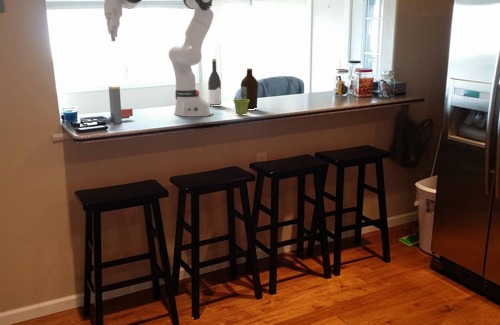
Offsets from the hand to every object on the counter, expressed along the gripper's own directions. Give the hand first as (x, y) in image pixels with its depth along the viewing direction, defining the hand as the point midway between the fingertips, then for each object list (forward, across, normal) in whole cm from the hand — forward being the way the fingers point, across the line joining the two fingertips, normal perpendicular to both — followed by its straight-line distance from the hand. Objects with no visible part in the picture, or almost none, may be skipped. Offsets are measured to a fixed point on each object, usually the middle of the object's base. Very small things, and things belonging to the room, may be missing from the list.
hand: (114, 39), depth 252 cm
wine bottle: (+30, +46, -67) cm, 87 cm away
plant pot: (+39, +6, -70) cm, 81 cm away
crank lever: (+40, +10, -3) cm, 41 cm away
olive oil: (+34, +23, -82) cm, 92 cm away
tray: (+42, +8, +10) cm, 44 cm away
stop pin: (+43, +4, 0) cm, 43 cm away
